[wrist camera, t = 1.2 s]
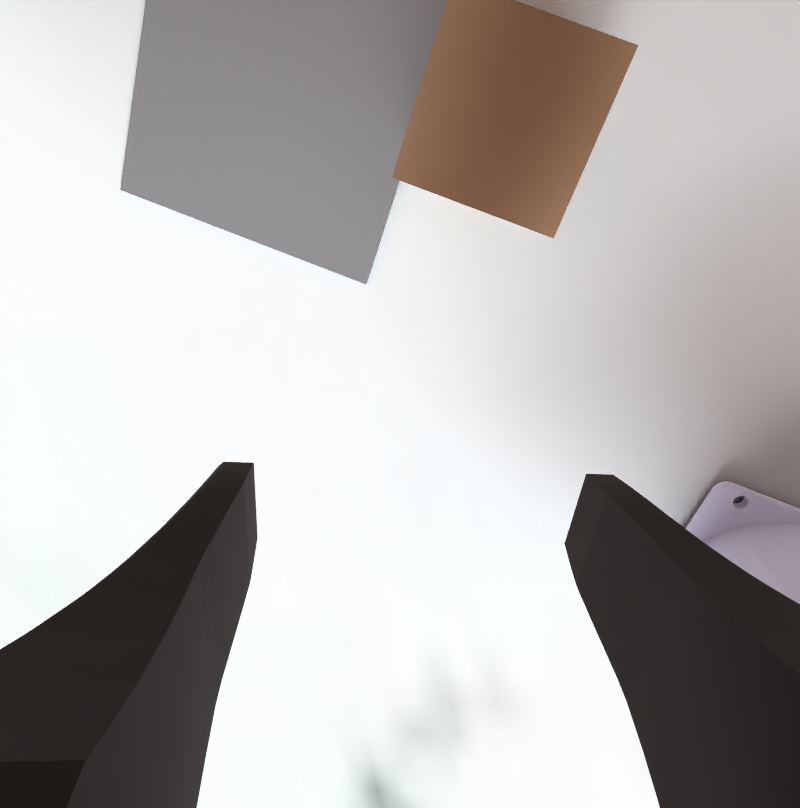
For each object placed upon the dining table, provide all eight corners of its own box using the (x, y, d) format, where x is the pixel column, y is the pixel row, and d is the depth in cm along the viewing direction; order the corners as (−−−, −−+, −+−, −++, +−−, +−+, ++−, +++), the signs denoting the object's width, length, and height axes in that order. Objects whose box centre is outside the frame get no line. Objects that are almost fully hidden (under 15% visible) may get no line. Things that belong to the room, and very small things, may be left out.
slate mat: (489, -104, 16) (489, -107, 16) (366, 283, 21) (365, 284, 21) (178, -214, 17) (175, -219, 17) (123, 189, 21) (120, 189, 21)
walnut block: (588, 101, 18) (637, 45, 11) (535, 225, 19) (553, 238, 13) (471, 58, 18) (454, -22, 11) (428, 184, 19) (391, 177, 13)
